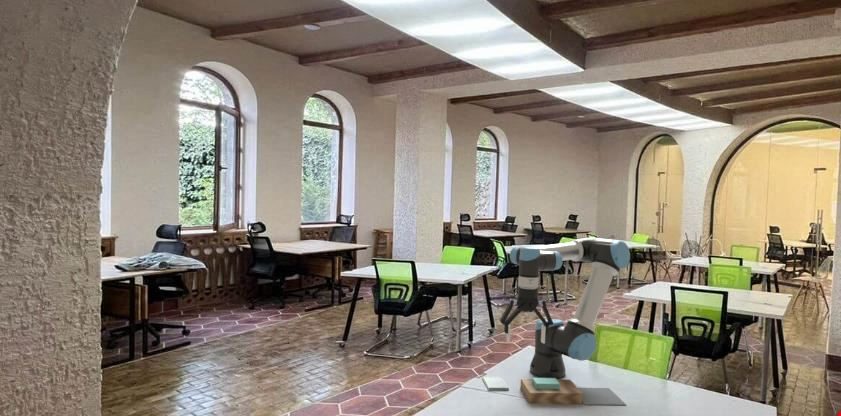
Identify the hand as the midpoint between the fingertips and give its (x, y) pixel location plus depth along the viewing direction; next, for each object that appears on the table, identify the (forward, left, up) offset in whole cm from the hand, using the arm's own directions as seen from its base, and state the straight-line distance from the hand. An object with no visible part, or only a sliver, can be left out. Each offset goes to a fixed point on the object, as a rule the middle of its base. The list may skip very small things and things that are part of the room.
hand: (525, 342), depth 204 cm
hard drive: (-14, +3, -22) cm, 26 cm away
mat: (+22, +19, -21) cm, 36 cm away
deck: (+8, +7, -21) cm, 24 cm away
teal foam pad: (+7, +6, -17) cm, 19 cm away
